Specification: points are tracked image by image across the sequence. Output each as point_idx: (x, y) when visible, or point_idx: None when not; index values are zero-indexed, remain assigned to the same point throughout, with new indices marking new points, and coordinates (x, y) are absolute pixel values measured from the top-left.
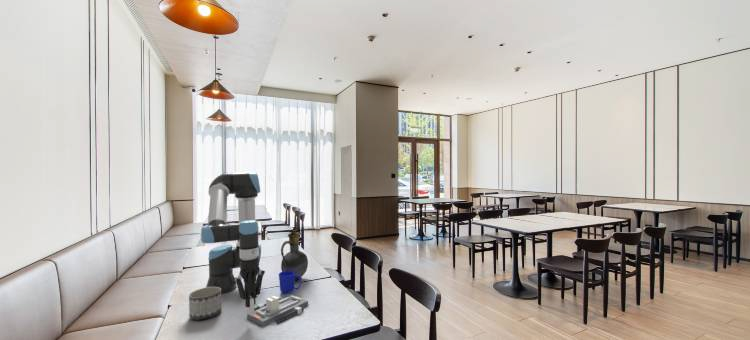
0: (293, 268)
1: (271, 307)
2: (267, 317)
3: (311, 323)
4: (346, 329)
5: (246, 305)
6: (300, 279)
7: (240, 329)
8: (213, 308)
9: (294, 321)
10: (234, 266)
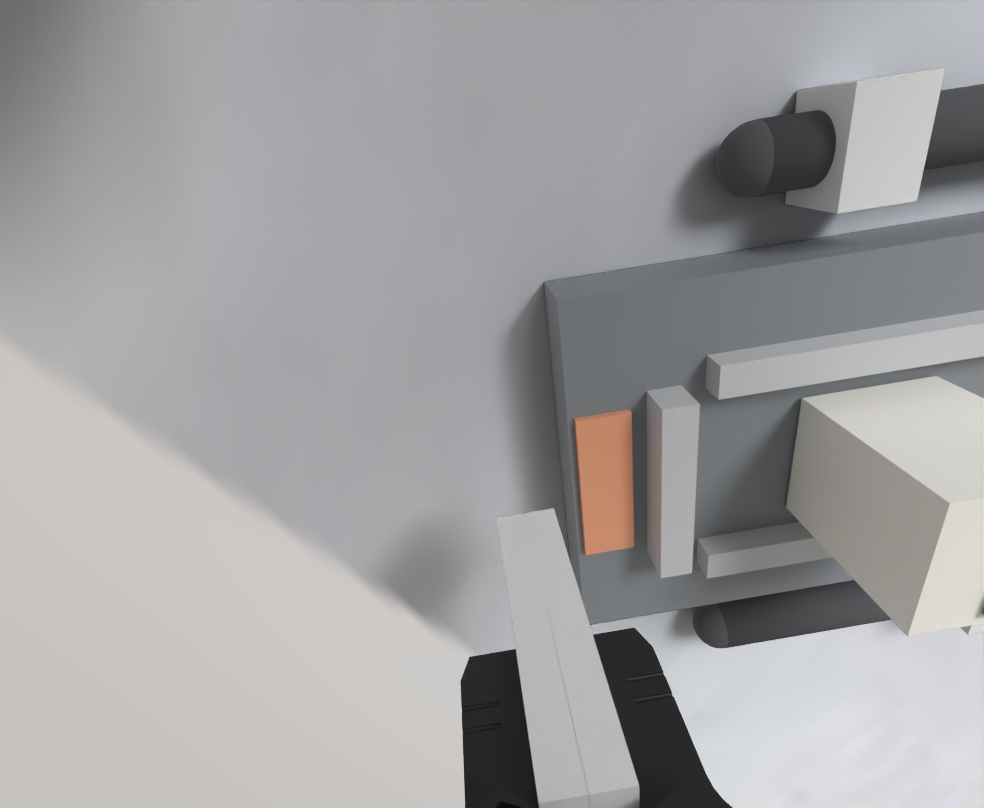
0: None
1: (829, 553)
2: (672, 579)
3: (839, 748)
4: None
5: (471, 706)
6: None
7: (370, 497)
8: None
9: (801, 665)
10: None
